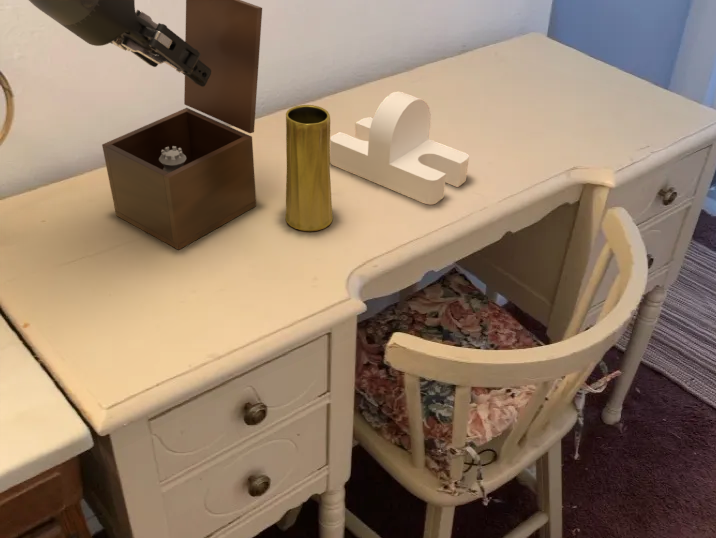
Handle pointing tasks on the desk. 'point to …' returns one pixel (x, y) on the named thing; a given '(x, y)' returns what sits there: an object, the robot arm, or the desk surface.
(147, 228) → the chest
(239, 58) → the lid
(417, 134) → the u-slot stand
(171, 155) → the rook chess piece
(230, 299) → the desk surface
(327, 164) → the vase
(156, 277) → the desk surface
